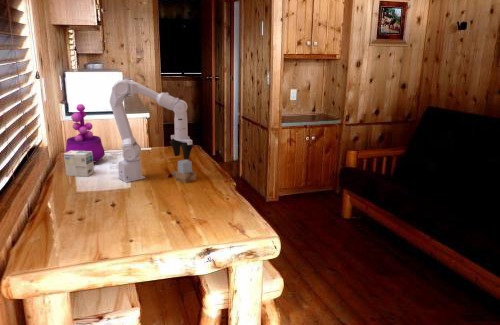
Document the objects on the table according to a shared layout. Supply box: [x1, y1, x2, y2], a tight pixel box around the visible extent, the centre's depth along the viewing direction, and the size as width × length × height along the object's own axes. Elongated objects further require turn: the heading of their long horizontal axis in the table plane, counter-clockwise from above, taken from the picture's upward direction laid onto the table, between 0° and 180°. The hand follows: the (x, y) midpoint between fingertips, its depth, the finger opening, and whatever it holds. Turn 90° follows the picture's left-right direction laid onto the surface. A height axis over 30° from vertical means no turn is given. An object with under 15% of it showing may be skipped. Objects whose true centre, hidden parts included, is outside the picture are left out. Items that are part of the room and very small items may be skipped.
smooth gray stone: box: [171, 170, 178, 177], centre depth 190 cm, size 6×6×1 cm
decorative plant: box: [64, 103, 106, 163], centre depth 203 cm, size 19×18×30 cm
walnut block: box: [175, 170, 197, 184], centre depth 182 cm, size 6×6×4 cm
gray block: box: [177, 159, 193, 174], centre depth 181 cm, size 4×4×5 cm
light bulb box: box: [63, 150, 95, 178], centre depth 186 cm, size 11×7×11 cm, turn 84°
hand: (181, 157), depth 182 cm, fingers open, 7 cm apart
